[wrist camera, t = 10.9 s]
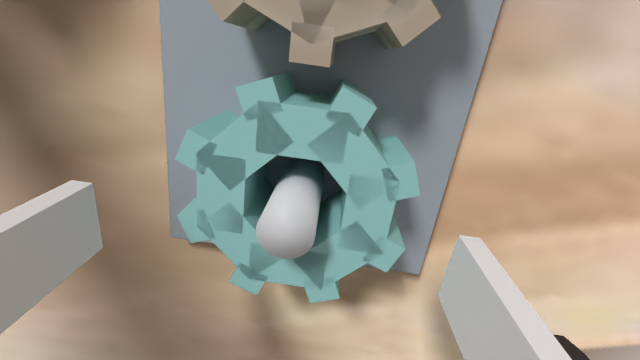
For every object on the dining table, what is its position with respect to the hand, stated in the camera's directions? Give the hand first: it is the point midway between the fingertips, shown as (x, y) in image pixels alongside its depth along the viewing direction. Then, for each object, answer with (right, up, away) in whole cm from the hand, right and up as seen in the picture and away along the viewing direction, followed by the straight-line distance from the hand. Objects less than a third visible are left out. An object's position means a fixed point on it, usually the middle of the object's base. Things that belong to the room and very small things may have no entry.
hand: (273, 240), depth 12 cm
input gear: (+1, +3, +8) cm, 8 cm away
